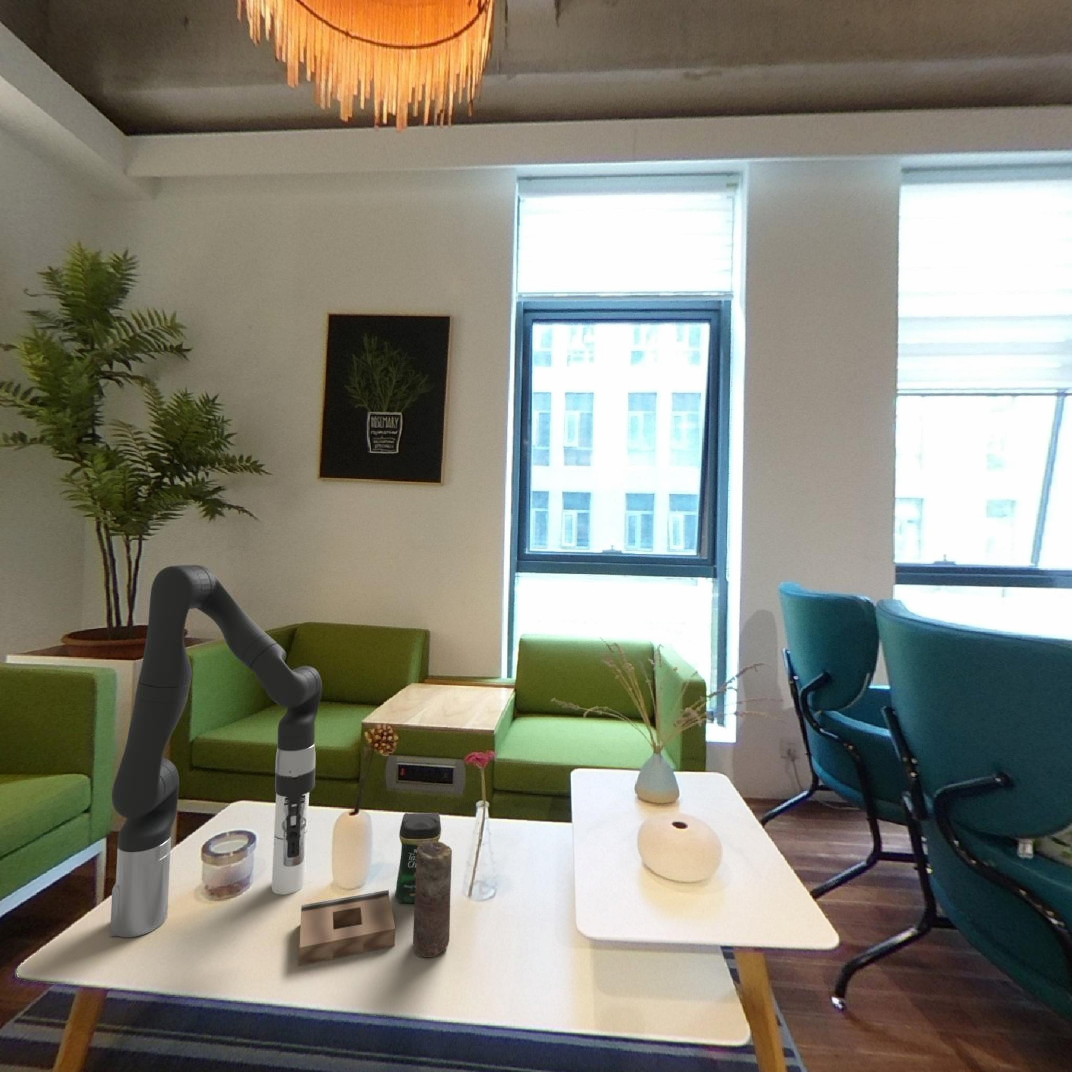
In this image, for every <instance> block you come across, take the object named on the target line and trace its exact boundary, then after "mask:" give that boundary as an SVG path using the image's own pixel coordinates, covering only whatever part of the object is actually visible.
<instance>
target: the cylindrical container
mask: <svg viewBox="0 0 1072 1072" xmlns="http://www.w3.org/2000/svg"><path fill="white" fill-rule="evenodd" d="M304 795H305V809H304V815H303V817H304V818H306V826H305V833H304V861H303V862H302V863H301V864H299V865H297V866H292V867H287V866H284V865H283V830H282V823H283V821H284V820H285V813H284V803H285V797H282V796H279V795H277V794H276V793H275V806H274V807H275V810H274V827H273V828H274V832H273V851H272V853H273V854H272V855H273V856H272V876H271V891H272V892H273V893H274V894H277V895H284V896H285V895H289V894H295V893H296V892H298V891H300V890H301V889H303V887H304V886H305V883H306V865H307V864H306V863H307V861H306V860H307V847H308V827H309V826H308V823H309V800H310V792H309V793H307V794H304Z"/></svg>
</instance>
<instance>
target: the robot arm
mask: <svg viewBox="0 0 1072 1072" xmlns="http://www.w3.org/2000/svg"><path fill="white" fill-rule="evenodd" d="M150 589H151V590H150V597H149V598H150V599H149V607H148V608H149V611H148V612H149V613H148V623H147V631H146V633H147V634H146V640H145V645H144V651H143V658H142V663H141V668H140V673H139V676H138V679H137V680H138V681H137V685H136V691H135V696H134V701H133V702H134V704H133V710H132V713H131V719H130V723H129V727H128V733H127V734H128V735H127V738H126V739H127V740H126V745H125V747H124V751H123V756H122V757H121V761H120V764H119V767H118V771H117V774H116V776H115V780H114V783H113V786H112V790H111V791H112V792H111V802H112V806H113V807H114V808H113V809H114V810H115V811H116V812H117V814H119V816H121V817H123V818H126V820H125V822H124V823H123V825H122V827H121V828H120V830H119V831H118V835H117V852H116V853H117V855H116V875H115V884H114V885H113V887H112V890H111V908H110V909H111V910H110V925H109V926H110V929H109V930H110V932H109V937H114V936H118V937H120V938H134V937H139V936H143V935H146V934H149V933H151V932H152V931H154V930H156V929H157V928H159V927H160V926H161V925H162V924H164V922H165V921H166V919H167V918H168V912H169V911H168V910H169V891H170V889H169V888H170V887H169V886H170V869H171V867H170V866H171V845H172V844H171V843H172V841H171V840H172V829H173V826H174V823H175V820H176V817H177V812H178V800H179V789H180V788H179V787H180V776H179V771H178V769H177V767H176V765H175V764H174V763H173V762H172V761H171V760H169V759H168V758H165V757H164V754H165V751H166V747H167V745H168V743H169V740H170V738H171V737H172V735H173V732H174V730H175V729H176V728H177V727H176V726H177V725H178V723H179V721H180V719H181V717H182V714H183V713H184V710H185V707H186V705H187V701H188V698H189V692H190V687H191V682H192V677H193V671H192V670H193V669H192V664H191V661H190V657H189V654H188V652H187V649H186V645H185V641H184V640H185V639H184V636H185V635H184V633H185V627H186V622H187V617H188V613H189V610H191V609H192V610H193V609H197V610H198V611H201V612H202V613H204V614H205V616H207V617H209V618H210V619H211V620H212V621H214V622H215V624H216V625H217V627H218V628H219V629H220V632H222V633H221V634H222V635H223V637H224V640H225V642H226V645H227V646H228V649H229V650H230V651H231V652H232V653H233V655H234V656H235V657H236V658H237V659H238V660H239V661H240V662H241V663H242V664H243V665H244V666H245V667H247V668H248V669H249V671H251V672H252V673H254V674H255V676H256V677H257V679H258V681H259V683H260V684H261V686H262V687H263V689H264V690H265V692H266V693H267V695H268V697H269V698H270V699H271V700H272V701H273V702H274V703H275V704H277V705H279V706H280V707H283V708H285V709H286V708H287V709H286V712H285V714H284V715H283V716H282V717H281V719H280V720H279V722H278V726H277V748H276V754H275V755H276V756H275V771H274V772H275V773H274V774H275V777H274V779H275V780H274V791H275V795H276V794H277V795H279V796H282V797H285V803H284V813H285V828H287V835H286V842H287V857H288V858H292V857H297V856H298V855H299V840H300V838H301V833H300V826H302V825H303V815H304V809H305V795H304V794H307V793H309V794H310V792H312V790H314V788H315V786H316V747H315V742H316V741H315V739H316V738H315V737H316V736H315V735H316V731H315V730H316V726H315V725H316V724H315V723H316V719H317V715H318V712H319V707H320V702H321V697H322V690H323V682H322V678H321V675H320V673H319V672H318V670H317V669H316V668H314V667H312V666H309V665H302V666H299V667H297V668H294V669H290V667H289V666H288V665H287V664H286V663H285V661H286V658H287V653H286V651H285V649H284V648H283V647H282V646H281V645H280V644H279V643H278V642H277V641H276V640H275V639H274V638H272V637H271V636H270V635H269V634H268V633H267V632H266V631H264V630H263V629H262V628H261V627H260V626H259V625H258V624H257V623H256V622H255V621H254V620H253V619H252V618H251V617H250V616H249V615H248V614H247V612H246V611H244V610H243V608H242V607H241V606H240V605H239V603H238V602H237V601H236V600H235V598H234V597H233V596H232V595H231V593H230V592H229V590H228V589H227V588H226V587H225V586H224V583H222V582H221V580H220V579H219V578H218V577H217V575H216V574H215V573H214V572H213V571H212V570H211V569H209V568H208V567H206V566H203V565H197V564H183V565H182V564H181V565H170V566H166V567H163V568H162V569H161V570H160V571H159V572H158V573H157V574H156V575H155V577H154V579H153V582H152V585H151V588H150ZM291 832H293V833H291Z"/></svg>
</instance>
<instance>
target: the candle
mask: <svg viewBox="0 0 1072 1072" xmlns="http://www.w3.org/2000/svg"><path fill="white" fill-rule="evenodd" d="M452 854H453V850H452V848H451V847H450V846H449V845H447V844H446V843H444V842H442V841H435V842H427V843H422V844H420V845H419V846H418V848H417V863H416V890H415V903H414V909H413V910H414V912H413V931H412V933H413V934H412V945H413V948H414V952H415V953H416V954H417V956H418V957H421V958H433V957H436V956H437V955H438V954H440V953H442V952H443V951H445V950H446V948H447V947H448V946H449V943H450V936H451V934H450V929H451V888H452V884H451V883H452V859H453V858H452V857H453V855H452Z"/></svg>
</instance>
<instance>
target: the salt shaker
mask: <svg viewBox="0 0 1072 1072" xmlns="http://www.w3.org/2000/svg"><path fill="white" fill-rule="evenodd" d="M305 826H306V818H304V817H303V825H302V826H300V833H301V838H300V840H299V855H298V856H297V857H292V858H288V857H287V842H286V835H287V828H285V820H284V821H283V823H282V830H283V865H284V866H287V867H292V866H297V865H299V864H301V863H302V862H303V861H304V833H305ZM291 833H293V832H291Z"/></svg>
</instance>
